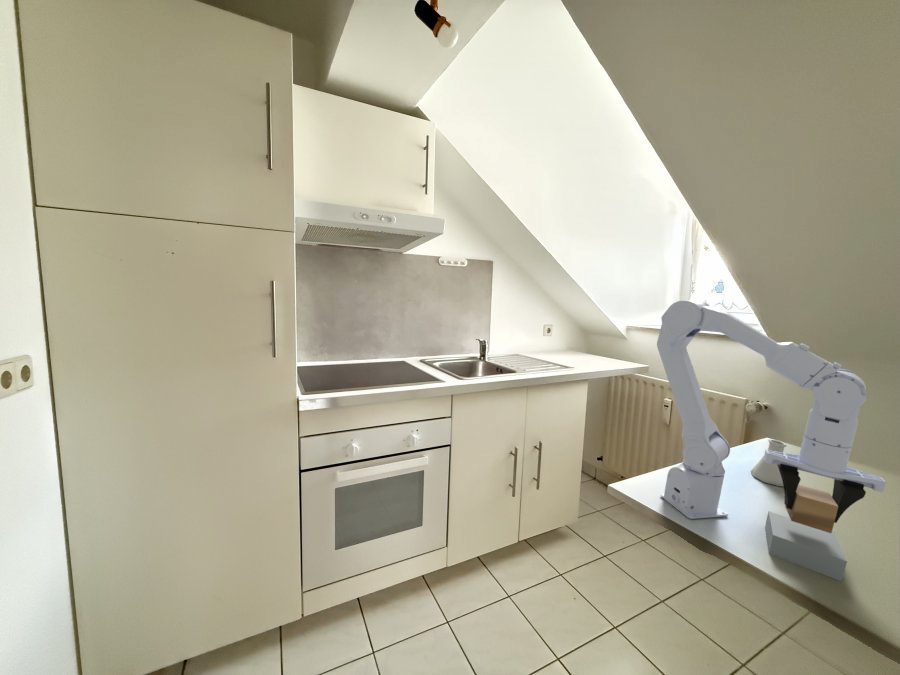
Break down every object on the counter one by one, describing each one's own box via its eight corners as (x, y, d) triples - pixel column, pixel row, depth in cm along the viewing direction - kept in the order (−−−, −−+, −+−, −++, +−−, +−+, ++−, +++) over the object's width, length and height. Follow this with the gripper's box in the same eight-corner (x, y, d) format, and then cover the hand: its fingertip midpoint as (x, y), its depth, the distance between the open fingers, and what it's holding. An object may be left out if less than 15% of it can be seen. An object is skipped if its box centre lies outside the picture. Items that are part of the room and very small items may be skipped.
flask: (796, 489, 86) (805, 450, 84) (761, 484, 87) (770, 446, 86) (776, 474, 93) (784, 438, 91) (744, 469, 94) (751, 434, 93)
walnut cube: (831, 533, 60) (838, 506, 59) (791, 520, 63) (797, 495, 62) (822, 518, 64) (829, 492, 64) (785, 507, 67) (791, 482, 66)
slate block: (841, 583, 58) (847, 561, 58) (768, 554, 64) (773, 534, 63) (829, 552, 65) (834, 532, 65) (764, 529, 71) (768, 510, 70)
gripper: (880, 445, 60) (860, 518, 63) (767, 422, 68) (753, 487, 70) (899, 461, 55) (877, 540, 57) (774, 433, 63) (758, 504, 65)
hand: (809, 512), depth 63 cm, fingers closed on walnut cube, 5 cm apart
